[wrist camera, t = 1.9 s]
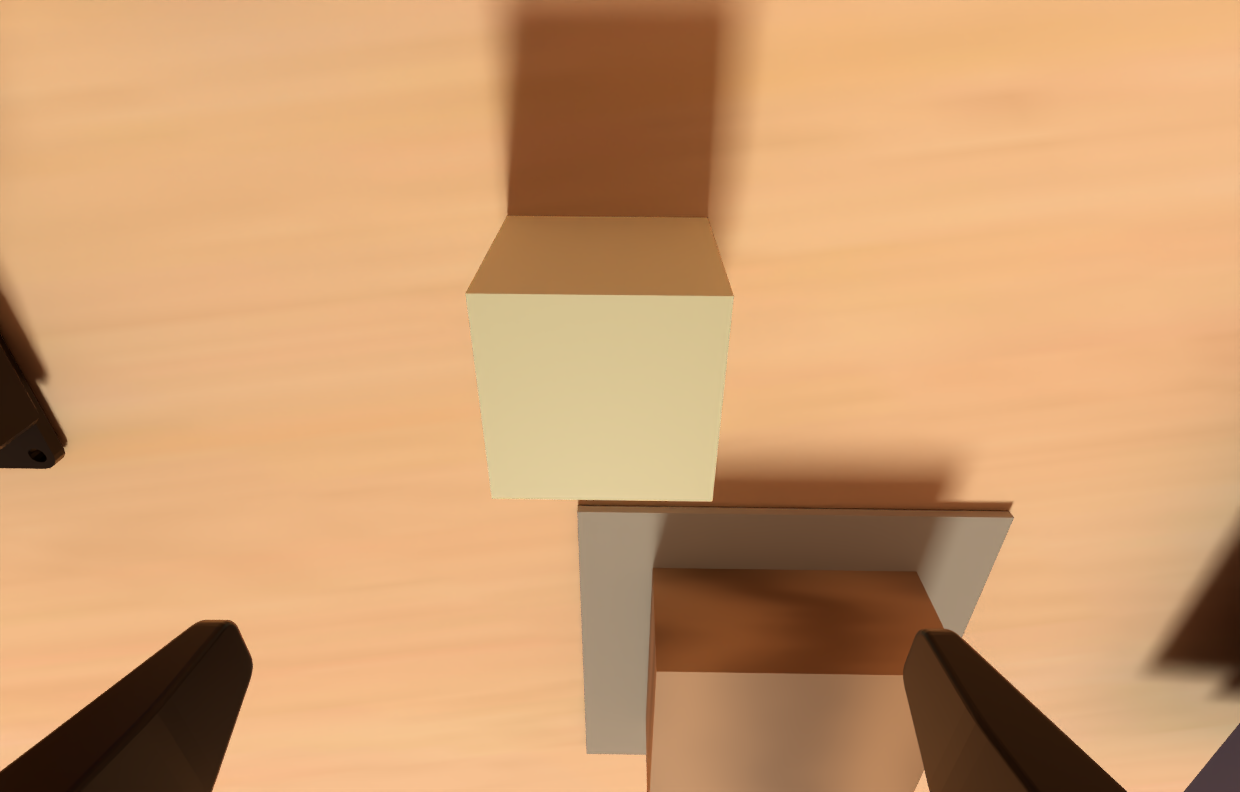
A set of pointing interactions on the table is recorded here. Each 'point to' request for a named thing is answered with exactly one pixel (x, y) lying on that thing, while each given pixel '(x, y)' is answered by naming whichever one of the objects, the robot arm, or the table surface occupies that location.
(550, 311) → the cube
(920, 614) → the plinth
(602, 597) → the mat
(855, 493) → the table surface
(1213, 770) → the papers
